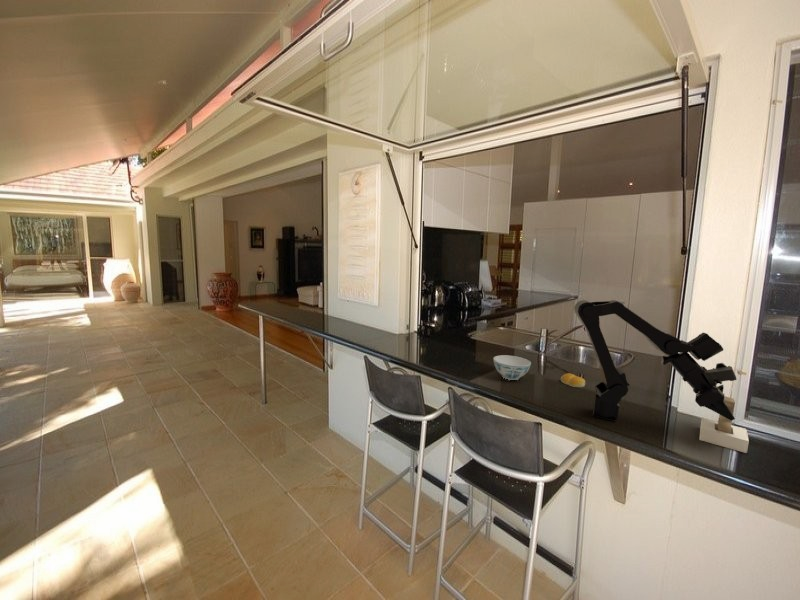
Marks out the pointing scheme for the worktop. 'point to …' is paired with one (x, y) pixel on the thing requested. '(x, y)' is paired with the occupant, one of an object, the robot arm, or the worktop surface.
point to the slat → (723, 422)
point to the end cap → (724, 436)
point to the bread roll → (573, 380)
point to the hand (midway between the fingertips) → (732, 416)
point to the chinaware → (511, 366)
